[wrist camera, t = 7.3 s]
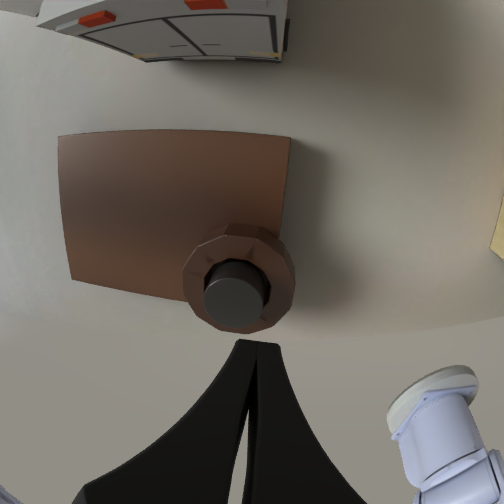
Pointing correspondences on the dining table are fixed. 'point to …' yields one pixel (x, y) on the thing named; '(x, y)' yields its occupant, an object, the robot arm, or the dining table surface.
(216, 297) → the button
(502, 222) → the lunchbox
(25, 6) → the white cube
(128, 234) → the control box
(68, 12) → the toy vehicle
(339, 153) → the dining table surface
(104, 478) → the robot arm
